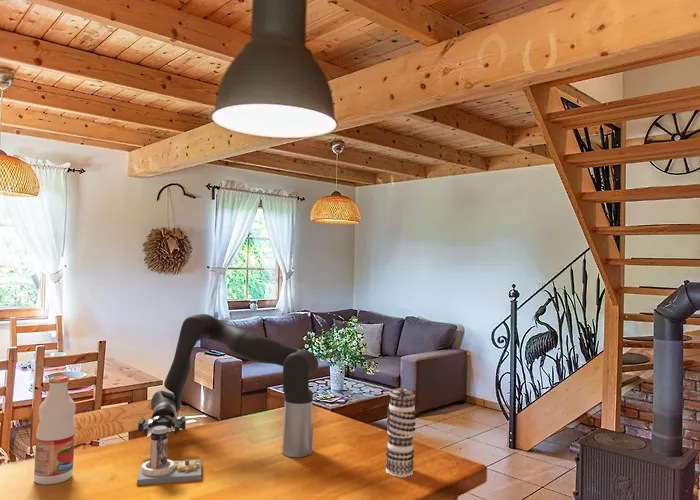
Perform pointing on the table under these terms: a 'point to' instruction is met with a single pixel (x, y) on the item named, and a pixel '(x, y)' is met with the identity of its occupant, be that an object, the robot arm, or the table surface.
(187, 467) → the gear board
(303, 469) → the table surface
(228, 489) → the table surface
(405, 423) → the decorative candle
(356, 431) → the table surface
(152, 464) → the beer can
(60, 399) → the fruit juice
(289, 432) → the robot arm
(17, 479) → the table surface
